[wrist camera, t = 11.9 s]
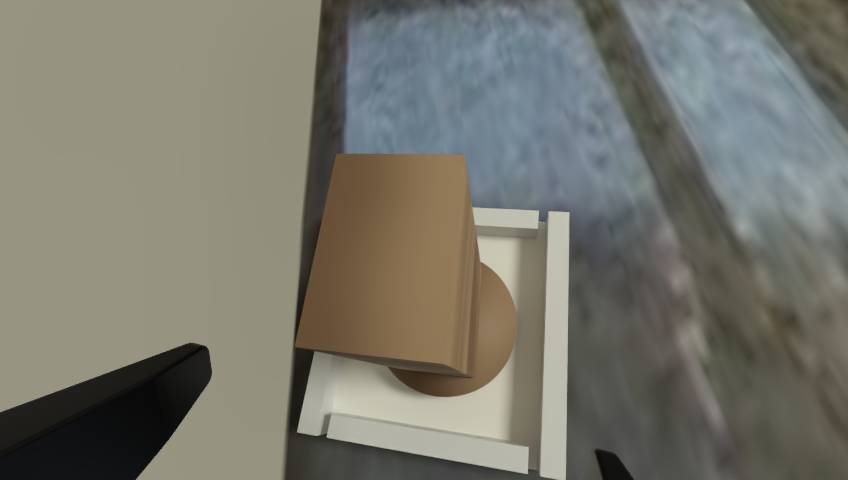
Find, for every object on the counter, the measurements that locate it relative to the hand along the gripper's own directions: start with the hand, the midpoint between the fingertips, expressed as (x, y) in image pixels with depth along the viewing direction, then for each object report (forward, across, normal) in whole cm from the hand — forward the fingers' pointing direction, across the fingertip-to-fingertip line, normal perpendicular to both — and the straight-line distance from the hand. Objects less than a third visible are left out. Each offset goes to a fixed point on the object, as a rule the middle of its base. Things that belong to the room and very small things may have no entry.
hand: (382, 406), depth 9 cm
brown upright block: (+11, 0, +5) cm, 12 cm away
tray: (+12, 0, +6) cm, 13 cm away
